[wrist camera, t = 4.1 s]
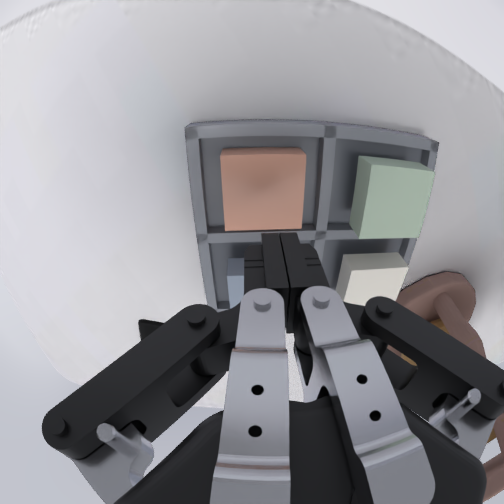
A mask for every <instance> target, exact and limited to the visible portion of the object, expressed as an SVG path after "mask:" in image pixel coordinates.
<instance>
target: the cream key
mask: <svg viewBox="0 0 504 504" xmlns="http://www.w3.org/2000/svg"><path fill="white" fill-rule="evenodd" d="M408 268H409V266H408V265H407V264H406V262H405V261H404V260H403V258H402V257H401V256H400V254H399V253H398V252H392V253H368V254H343V259H342V264H341V268H340V273H339V278H338V282H337V286H336V292H337V293H338V294H339V295H340V297H341V299H342V301H344V302H347V303H351V304H356V305H362V306H365V304H366V302H367V301H368V300H369V299H370V298H372V297H376V296H383V297H387V298H390V299H392V300H394V301H396V299H397V296H398V294H399V292H400V289H401V287H402V284H403V281H404V279H405V276H406V273H407V271H408Z"/></svg>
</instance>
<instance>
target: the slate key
mask: <svg viewBox="0 0 504 504" xmlns="http://www.w3.org/2000/svg"><path fill="white" fill-rule="evenodd" d="M227 282H228V292H229V302H230V308H233V307H234V306H236V305H237V304H238V303H239V302H240V301H241V300H242V298H243V296H244V258H228V268H227Z"/></svg>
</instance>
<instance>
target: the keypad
mask: <svg viewBox="0 0 504 504" xmlns="http://www.w3.org/2000/svg"><path fill="white" fill-rule="evenodd" d="M185 139H186V150H187V160H188V170H189V180H190V188H191V197H192V205H193V213H194V221H195V228H196V236H197V243H198V250H199V256H200V263H201V269H202V275H203V282H204V288H205V293H206V299H207V305H208V306H210V307H212V308H214V309H215V310H216V311H217V312H221V311H224V310H228V309H230V302H229V292H228V282H227V268H228V258H244V252H245V250H246V249H247V248H248V246H249V245H261V233H284V232H297V235H298V238H299V241H300V244H305V243H309V244H310V245H311V246H312V247H314V248H315V249H316V251H317V253H318V256H319V259H320V261H321V264H322V267H323V269H324V272H325V275H326V277H327V280H328V283H329V286H330V288H331V289H333V290H334V291H336V286H337V282H338V278H339V273H340V268H341V264H342V259H343V254H368V253H392V252H398V253H399V254H400V256H401V257H402V258H403V260H404V261H405V262H406V264H407V265H409V262H410V259H411V256H412V253H413V250H414V247H415V244H416V241H417V238H378V239H359V238H358V237H357V235H356V234H355V232H354V231H353V229H352V228H351V226H350V225H349V222H350V216H351V209H352V203H353V196H354V189H355V182H356V174H357V166H358V157H359V156H370V157H380V158H389V159H397V160H405V161H412V162H419V163H421V164H423V165H424V166H426V167H428V168H429V169H431V170H433V171H434V169H435V164H436V158H437V152H438V146H439V142H437V141H435V140H432V139H430V138H428V137H425V136H422V135H418V134H413V133H408V132H402V131H397V130H391V129H385V128H378V127H371V126H363V125H355V124H346V123H335V122H323V121H306V120H228V121H211V122H199V123H190V124H189V125H188V126H186V127H185ZM250 147H298V148H301V149H302V150H303V152H304V153H305V154H306V172H305V188H304V203H303V216H302V228H301V229H269V230H237V231H225V222H224V208H223V194H222V178H221V162H220V155H221V152H222V149H224V148H250Z"/></svg>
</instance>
